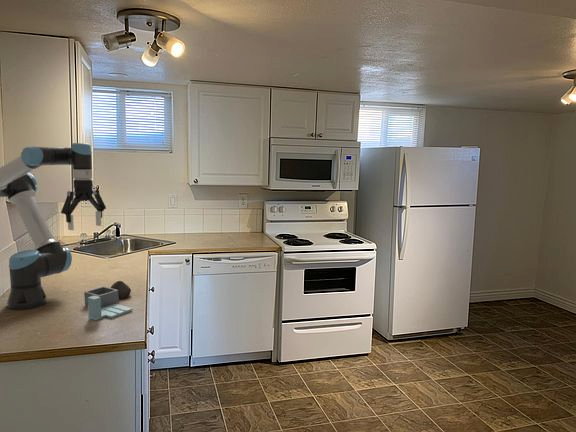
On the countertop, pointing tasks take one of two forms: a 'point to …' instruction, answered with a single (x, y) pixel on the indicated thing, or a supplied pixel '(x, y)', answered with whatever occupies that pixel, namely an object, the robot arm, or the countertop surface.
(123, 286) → the stone
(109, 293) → the tub
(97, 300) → the pale blue ridged block
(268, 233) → the countertop surface
